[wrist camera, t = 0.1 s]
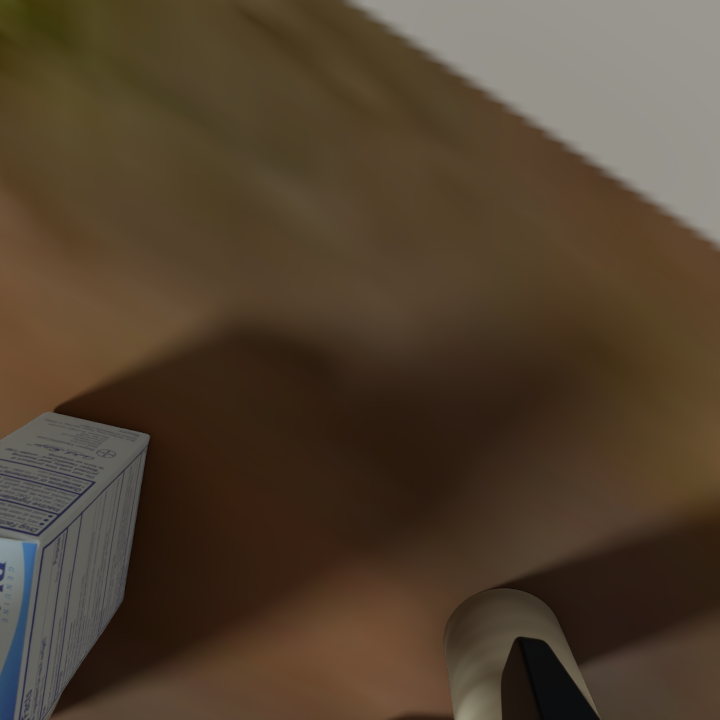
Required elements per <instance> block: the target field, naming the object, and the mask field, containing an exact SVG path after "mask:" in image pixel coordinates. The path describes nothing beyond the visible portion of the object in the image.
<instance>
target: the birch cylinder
mask: <svg viewBox="0 0 720 720" xmlns="http://www.w3.org/2000/svg"><path fill="white" fill-rule="evenodd" d="M519 636H523V637H529V638H536V639H541V640H544V641H545V642H546V643H547V644H548V645H549V646H550V647H551V649H552V650H553V652H554V653H555V654H556V656H557V657H558V659H559V660H560V662H561V663H562V665H563V666H564V667H565V669H566V670H567V672H568V673H569V675H570V676H571V678H572V679H573V680H574V682H575V683H576V685H577V686H578V688H579V689H580V691H581V692H582V693H583V695H584V696H585V698H586V699H587V701H588V702H589V704H590V705H591V706H592V708H593V709H594V711H595V712H596V714H597V715H598V717H599V714H598V712H597V710H596V708H595V705H594V703H593V701H592V698H591V696H590V694H589V691H588V689H587V687H586V684H585V682H584V680H583V678H582V675H581V673H580V671H579V668H578V666H577V664H576V661H575V659H574V657H573V655H572V652H571V650H570V648H569V645H568V643H567V641H566V638H565V636H564V634H563V632H562V629H561V627H560V625H559V622H558V620H557V618H556V616H555V615H554V613H553V611H552V610H551V609H550V608H549V607H548V606H547V605H546V604H545V603H544V602H543V601H542V600H540V599H539V598H537V597H535V596H534V595H532V594H529V593H527V592H524V591H520V590H516V589H509V588H500V589H492V590H487V591H484V592H481V593H478V594H476V595H474V596H472V597H470V598H468V599H467V600H465V601H464V602H463V603H462V604H461V605H459V606H458V607H457V609H456V610H455V611H454V612H453V614H452V615H451V616H450V618H449V620H448V622H447V625H446V628H445V632H444V649H445V656H446V664H447V671H448V678H449V685H450V692H451V699H452V706H453V713H454V720H502V711H501V677H502V672H503V669H504V666H505V663H506V661H507V658H508V655H509V652H510V650H511V647H512V644H513V642H514V640H515V639H516V638H517V637H519ZM599 718H600V717H599ZM600 720H601V719H600Z"/></svg>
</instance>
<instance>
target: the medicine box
mask: <svg viewBox="0 0 720 720" xmlns="http://www.w3.org/2000/svg"><path fill="white" fill-rule="evenodd" d="M149 439H150V436H149V435H148V434H145V433H141V432H137V431H132V430H128V429H123V428H119V427H115V426H110V425H105V424H101V423H97V422H92V421H88V420H84V419H79V418H75V417H70V416H66V415H61V414H57V413H53V412H46V413H44V414H42V415H40V416H39V417H37V418H35V419H34V420H32V421H31V422H29V423H27V424H26V425H24V426H23V427H21V428H20V429H18V430H16V431H14V432H13V433H11V434H9V435H8V436H6V437H4V438H3V439H1V440H0V720H44V719H45V717H46V716H47V714H48V713H49V711H50V710H51V708H52V707H53V705H54V704H55V702H56V701H57V699H58V698H59V696H60V695H61V693H62V692H63V690H64V689H65V687H66V686H67V684H68V682H69V681H70V679H71V678H72V677H73V675H74V674H75V672H76V670H77V669H78V667H79V666H80V664H81V663H82V661H83V660H84V659H85V657H86V656H87V654H88V653H89V651H90V649H91V648H92V647H93V645H94V644H95V642H96V641H97V639H98V638H99V637H100V635H101V634H102V632H103V631H104V629H105V628H106V626H107V624H108V623H109V621H110V620H111V618H112V617H113V615H114V614H115V612H116V611H117V609H118V607H119V606H120V604H121V602H122V601H123V596H124V590H125V584H126V577H127V571H128V565H129V559H130V553H131V547H132V541H133V535H134V528H135V522H136V516H137V509H138V503H139V496H140V490H141V484H142V478H143V471H144V465H145V459H146V453H147V447H148V442H149Z"/></svg>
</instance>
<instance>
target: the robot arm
mask: <svg viewBox="0 0 720 720" xmlns="http://www.w3.org/2000/svg"><path fill="white" fill-rule="evenodd" d="M501 711H502V720H600V718H599V717H598V715H597V714H596V712H595V711H594V709H593V708H592V706H591V705H590V704H589V702H588V701H587V699H586V698H585V696H584V695H583V693H582V692H581V691H580V689H579V688H578V686H577V685H576V683H575V682H574V680H573V679H572V678H571V676H570V675H569V673H568V672H567V670H566V669H565V667H564V666H563V665H562V663H561V662H560V660H559V659H558V657H557V656H556V654H555V653H554V652H553V650H552V649H551V647H550V646H549V645H548V644H547V643H546V642H545V641H544V640H541V639H536V638H529V637H523V636H519V637H517V638H516V639H515V640H514V642H513V644H512V647H511V650H510V652H509V655H508V658H507V661H506V663H505V666H504V669H503V672H502V677H501Z"/></svg>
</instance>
